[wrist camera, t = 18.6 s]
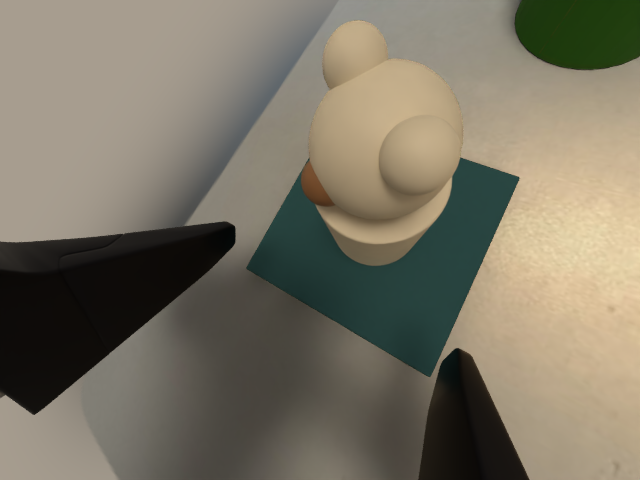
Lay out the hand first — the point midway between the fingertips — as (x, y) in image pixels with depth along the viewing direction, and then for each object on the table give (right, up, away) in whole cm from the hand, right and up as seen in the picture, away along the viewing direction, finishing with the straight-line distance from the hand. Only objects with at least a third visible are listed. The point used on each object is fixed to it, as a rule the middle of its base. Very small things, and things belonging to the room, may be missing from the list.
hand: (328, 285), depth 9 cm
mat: (+3, +2, +7) cm, 8 cm away
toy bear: (+3, +3, +6) cm, 7 cm away
